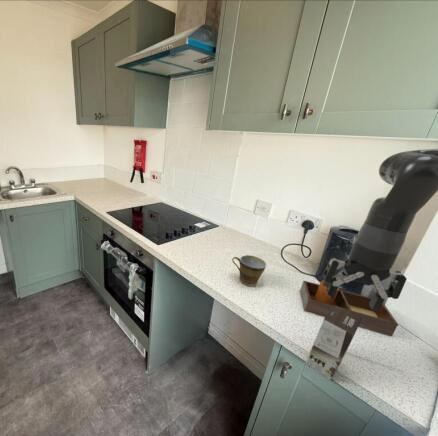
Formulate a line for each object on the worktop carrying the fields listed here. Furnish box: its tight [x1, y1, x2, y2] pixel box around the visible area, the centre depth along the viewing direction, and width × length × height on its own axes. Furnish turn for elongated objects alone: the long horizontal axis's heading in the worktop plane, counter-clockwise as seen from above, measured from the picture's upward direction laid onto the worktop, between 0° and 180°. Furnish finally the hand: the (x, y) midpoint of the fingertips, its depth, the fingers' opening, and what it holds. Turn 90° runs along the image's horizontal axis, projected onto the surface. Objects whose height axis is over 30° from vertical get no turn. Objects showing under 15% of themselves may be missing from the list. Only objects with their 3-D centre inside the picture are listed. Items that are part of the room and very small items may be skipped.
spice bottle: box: [314, 278, 340, 305], centre depth 88 cm, size 6×6×11 cm
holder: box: [299, 280, 399, 337], centre depth 87 cm, size 13×24×6 cm, turn 66°
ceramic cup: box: [231, 254, 267, 287], centre depth 102 cm, size 13×10×10 cm
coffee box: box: [305, 306, 361, 381], centre depth 66 cm, size 9×6×16 cm
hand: (350, 301), depth 61 cm, fingers open, 8 cm apart
